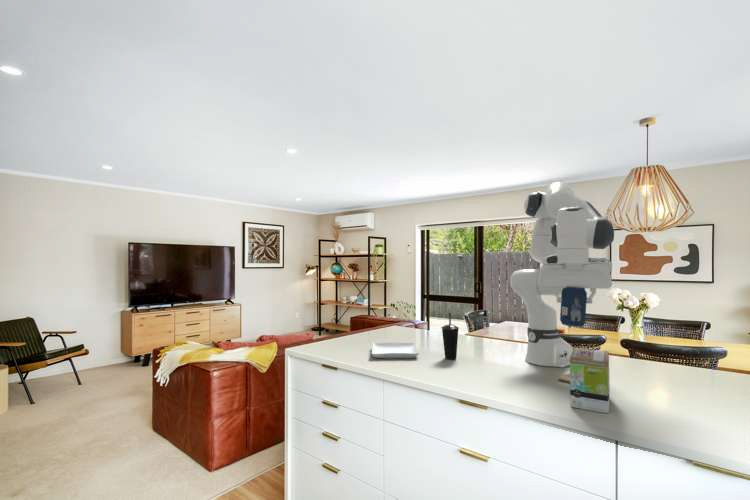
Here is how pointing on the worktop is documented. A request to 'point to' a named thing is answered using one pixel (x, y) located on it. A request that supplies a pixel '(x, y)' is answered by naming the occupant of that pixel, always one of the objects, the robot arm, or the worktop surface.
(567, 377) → the walnut coaster
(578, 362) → the tea box
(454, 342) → the drinking cup
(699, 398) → the worktop surface
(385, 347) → the salad plate
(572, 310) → the soda can
